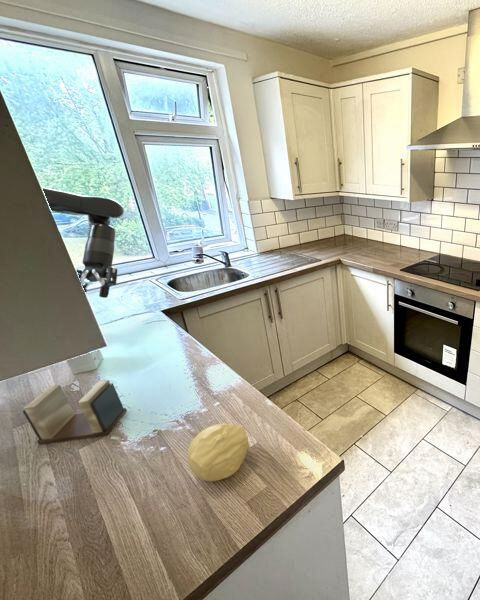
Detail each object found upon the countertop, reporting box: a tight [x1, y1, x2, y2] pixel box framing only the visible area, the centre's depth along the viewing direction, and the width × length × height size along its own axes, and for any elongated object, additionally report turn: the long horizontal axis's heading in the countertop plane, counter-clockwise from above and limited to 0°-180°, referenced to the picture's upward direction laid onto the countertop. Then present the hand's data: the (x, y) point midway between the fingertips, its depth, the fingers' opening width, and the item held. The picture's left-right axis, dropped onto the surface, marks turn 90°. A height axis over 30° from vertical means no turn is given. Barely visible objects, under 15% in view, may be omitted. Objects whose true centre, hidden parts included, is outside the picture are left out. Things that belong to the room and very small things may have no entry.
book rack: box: [22, 379, 128, 445], centre depth 84 cm, size 15×9×11 cm, turn 101°
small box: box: [66, 350, 104, 375], centre depth 108 cm, size 8×6×13 cm
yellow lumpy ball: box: [187, 423, 250, 482], centre depth 73 cm, size 11×12×11 cm
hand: (92, 298), depth 112 cm, fingers open, 8 cm apart
